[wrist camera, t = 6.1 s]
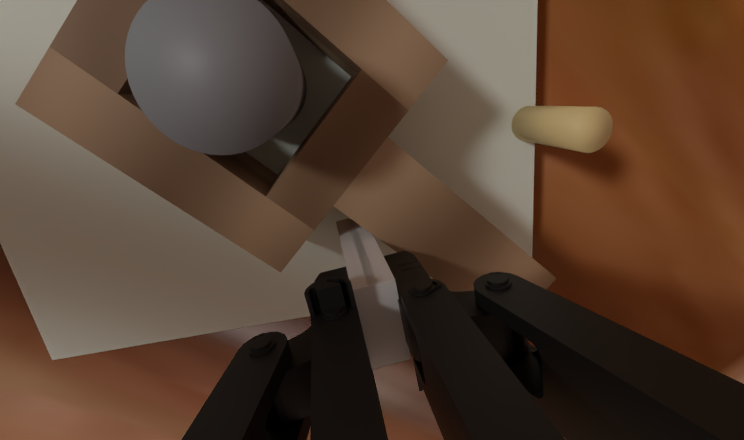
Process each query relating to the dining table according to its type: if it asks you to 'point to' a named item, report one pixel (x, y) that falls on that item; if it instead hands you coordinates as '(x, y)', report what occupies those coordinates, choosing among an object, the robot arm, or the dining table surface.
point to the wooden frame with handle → (309, 162)
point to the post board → (260, 140)
